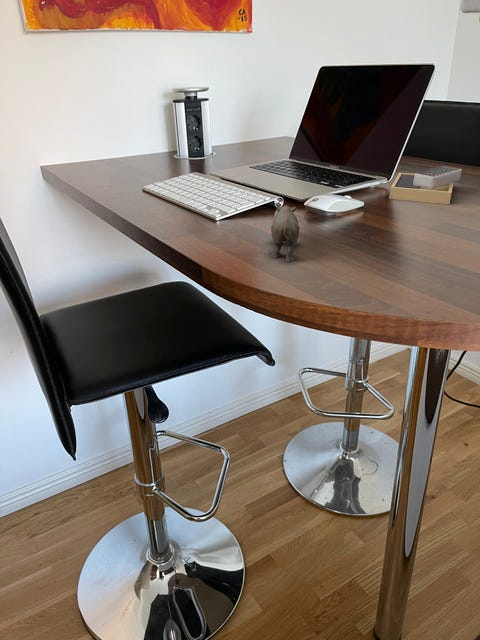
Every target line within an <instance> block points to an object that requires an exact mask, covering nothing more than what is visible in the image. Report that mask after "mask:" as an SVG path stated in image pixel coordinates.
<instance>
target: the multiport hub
mask: <svg viewBox="0 0 480 640" xmlns="http://www.w3.org/2000/svg"><path fill="white" fill-rule="evenodd" d="M462 171H463V170H462V168H461V167H454V166H450V165H449V166H448V165H441V166H437V167H436V166H435V167H433V168H430V169H429V168H428V169H426V170H422V171H418V172H415V173H414V174H415V175H414V182H413V185H414V186H419V187H424V188H429V189H435V188H438V187H441V186H444V185H447V184H450V183H453V184H454V183H456V182H459V181H461V175H462Z"/></svg>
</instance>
